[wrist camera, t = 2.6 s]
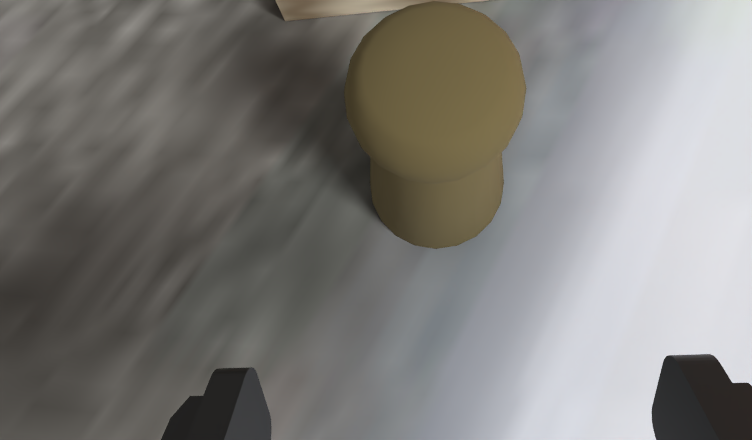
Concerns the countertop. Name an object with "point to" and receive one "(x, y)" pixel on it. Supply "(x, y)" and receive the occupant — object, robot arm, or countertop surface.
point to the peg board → (344, 7)
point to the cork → (435, 119)
